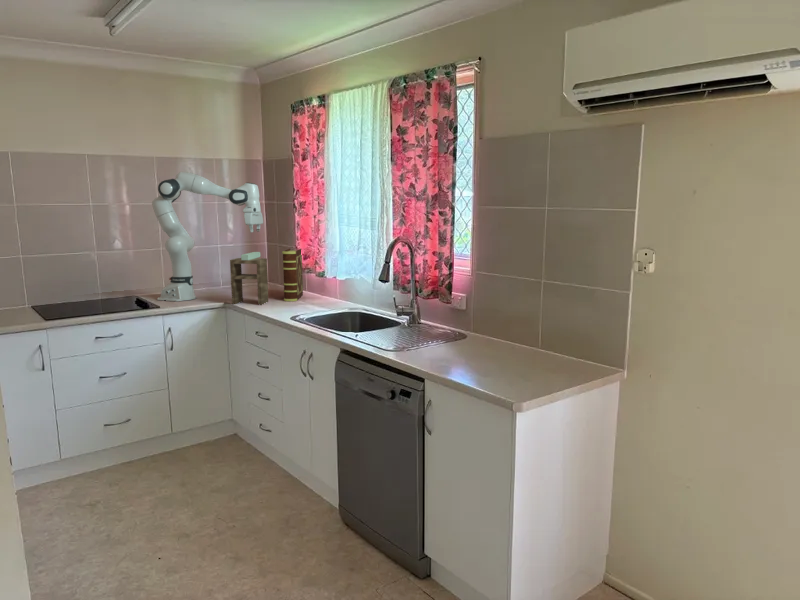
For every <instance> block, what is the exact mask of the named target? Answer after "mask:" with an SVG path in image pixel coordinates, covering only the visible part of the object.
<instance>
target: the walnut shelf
mask: <svg viewBox="0 0 800 600" xmlns="http://www.w3.org/2000/svg"><path fill="white" fill-rule="evenodd" d="M242 264H243V265H252V264H253V265H256V274H255V273H243V272H242ZM229 265H230V284H231V285H230V286H231V287H230V288H231V289H230V290H231V304H232V305H237V304H239V302H240V303H242V302H244V295H243V294H244V293H243V292H244V291H243V280H256V282H257V283H256V284H257V303H258V304H260V305H259V306H263V305H264V303H265V304H267V303H269V285H268V282H269V281H268V279H269V278H268V259H267V258H264V257H263V258H261V257H258V258H255V259H251V260H241V257H236V258H233V259H229ZM241 301H242V302H241ZM266 302H267V303H266ZM262 304H263V305H262Z"/></svg>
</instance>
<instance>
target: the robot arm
mask: <svg viewBox="0 0 800 600" xmlns="http://www.w3.org/2000/svg"><path fill="white" fill-rule="evenodd" d="M157 190H158V193H159V196H157V197H154V199H153V200H152V202H151V205H152V210H153V212H154V215H155V217H156V219H157V221H158V224H159V226H160V228H161V229H162V231H163V232H164V233H165V234H167V236H168V237H169V238H168V239H167V240H166V241H165V249H166V251H167V252H168V255H169V259H170V261H171V271H172V272H171V273H172V276H171V277H169V278H168V281H170V282H169V283H168V284H167V285H166V286H164V287H163V288H162V289H161V291H160V296H159V297H157V301H164V300H166V301H167V302H180V301H190V300H195V299H196V298H197V296H196V294H195V290H194V289H195V288H194V278H193V272H192V271H193V270H192V269H193V268H192V262H191V260H190V259H189V255H188V253H189V252H190V251H192V250H193V249H194V247H195V239H194V238H193V237H192V236H191V235H189V233H188V232H187V230H186V229H185V227H184V226H183V224H182V223H181V221H180V219H179V217H178V215H177V213H176V211H175V209H174V207H173V204H172V203H174V202H175V201H177V199H179V197H180V196H181V194H182V191H186V192H189V193H192V194H197V195H202V196H203V195H205V196H206V195H207V196H217V197H221V198H223V199H227V200H229V201H230V202H231V203H232V204H233V205H236V206H239V207H240V206H243V205H245V206H244V207H243V209H242V212H243V213H244V215H243V217H244V223H245V225H247V226H248V228H249V230H250V233H254V232H255V230H256V232H257V233H259V232H261V225H263V224H264V216H263V212H262V210H261V209H262V208H261V203H260V190H259V185H258V184H256V183H253V182H245V183H244V184H242V185H241V186H239V187H237V188H233V189H232V188H231V189H230V188H227V187H223V186H221V185H218V184H216V183H214V182H213V181H211V180H210V179H208V178H206V177H204V176H202V175H200V174H196V173H193V172H188V171H179V172H177V174H176V176H175V178H170V179H164V180H162V181H160V182H159V184H158V186H157ZM254 225H256V229H254Z"/></svg>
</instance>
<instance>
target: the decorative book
mask: <svg viewBox="0 0 800 600" xmlns="http://www.w3.org/2000/svg"><path fill="white" fill-rule="evenodd" d="M301 250H302V248H299V249H297V250H291V248H288V249H286V250H283V251H282V252H281V253H282V263H283V265H282V266H283V267H282V270H283V293H284V294H283V295H284V297H283V301H284V302H297V301H298V300H299V299H300V298H302V297H303V295H304V294H303V293H304V286H303V254H302V255H301ZM301 296H302V297H301Z"/></svg>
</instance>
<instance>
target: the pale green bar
mask: <svg viewBox="0 0 800 600" xmlns="http://www.w3.org/2000/svg"><path fill="white" fill-rule="evenodd" d="M240 258H241V260H251V259H255V258H261V251H253V252H252V251H251V252H247V253H244V254H241V257H240Z"/></svg>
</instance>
